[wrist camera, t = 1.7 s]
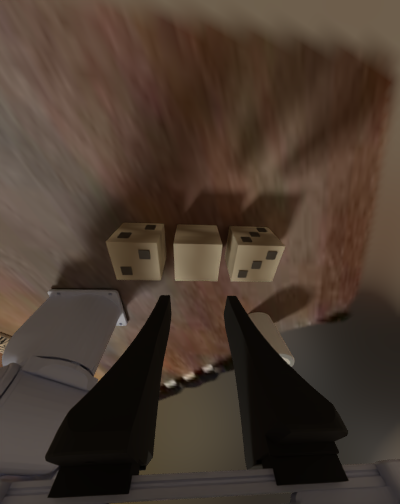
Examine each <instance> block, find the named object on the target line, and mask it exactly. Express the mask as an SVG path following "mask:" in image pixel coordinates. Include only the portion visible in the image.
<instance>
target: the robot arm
mask: <svg viewBox="0 0 400 504" xmlns="http://www.w3.org/2000/svg"><path fill="white" fill-rule="evenodd" d="M48 294H49V296H50V297H49V298H48V299H47V300H46V301H45V302H44V303H43V304H42V305H41V306H40V307H39V308H38V309H37V311H36V312H35V313H34V314H33V315H32V316H31V317H30V318H29V319H28V320H27V321H26V322H25V323H24V324H23V325H22V326H21V327H20V328H19V329H18V330H17V331H16V332H15V333H14V335H13V336H12V337H11V339H10V340H9V342H8V344H7V345H6V348H5V350H4V352H3V356H2V364H3V367H1V368H0V504H108V503H123V502H138V501H157V500H173V499H191V498H208V497H224V496H241V495H259V494H275V493H292V494H291V500H290V503H286V504H400V459H392V460H383V461H378V462H375V463H373V464H353V465H341V463H340V461H339V458H338V456H337V454H338V453H339V451H338V449H337V447H336V444H335V442H334V441H336V440H338V439H341V438H343V437H345V436H347V434H348V430H347V428H346V426H345V425H344V423H343V421H342V419H341V417H340V415H339V414H338V412H337V411H336V409H335V407H334V406H333V404H332V403H330V402H329V401H328V400H327V399H326V398H324V397H323V396H322V395H321V394H320V393H319V392H318V391H316V390H315V389H314V388H313V387H312V386H311V385H309V384H308V383H307V382H306V381H305V380H304V379H303V378H302V377H301V376H300V375H299V374H298V373H297V372H296V371H295V370H294V369H293V368H292V367H291V366H290V365H289V364H288V363H287V362H286V361H285V360H284V359H283V358H282V357H281V356H280V355H279V354H278V353H277V352H276V351H275V349H274V348H273V347H272V346H271V345H270V344H269V342H268V341H267V340H266V339H265V338H264V336H263V335H262V334H261V332H260V331H259V330H258V329H257V327H256V326H255V324H254V323H253V322H252V320H251V319H250V317H249V316H248V314H247V313H246V311H245V310H244V308H243V307H242V305H241V303H240V302H239V300H238V298H237V297H236V296H227V300H226V306H225V311H224V320H225V328H226V333H227V337H228V342H229V346H230V350H231V355H232V359H233V364H234V369H235V376H236V383H237V390H238V398H239V407H240V415H241V424H242V433H243V443H244V454H245V461H246V467H247V470H233V471H212V472H192V473H173V474H152V475H139V470H145V469H146V466H147V465H148V463H149V462H150V461H151V459H152V458H153V449H154V439H155V428H156V418H157V409H158V400H159V391H160V382H161V374H162V366H163V361H164V356H165V351H166V346H167V341H168V336H169V331H170V323H171V302H170V295H161V296H160V297H159V300H158V302H157V304H156V306H155V308H154V309H153V311H152V313H151V315H150V316H149V318H148V320H147V321H146V323H145V325H144V326H143V328H142V329H141V331H140V332H139V333H138V335H137V336H136V338H135V339H134V341H133V342H132V343H131V345H130V346H129V347H128V348H127V350H126V351H125V352H124V353H123V355H122V356H121V357H120V358H119V359H118V361H117V362H116V363H115V364H114V365H113V366H112V368H111V369H110V370H109V371H108V372H107V373H106V374H105V375H104V376H103V377H102V378H101V379H100V381H99V382H98V379H96V378H94V377H93V376H94V374H95V372H96V370H97V367H98V365H99V363H100V360H101V358H102V356H103V353H104V351H105V349H106V347H107V344H108V342H109V340H110V337H111V335H112V333H113V331H114V328H115V326H125V325H127V323H128V322H127V318H126V315H125V312H124V309H123V306H122V302H121V299H120V296H119V293H118V291H116V290H70V289H51V290H49V291H48ZM97 382H98V383H97Z"/></svg>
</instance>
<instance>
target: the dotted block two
mask: <svg viewBox="0 0 400 504" xmlns="http://www.w3.org/2000/svg"><path fill="white" fill-rule="evenodd" d="M106 245H107V248H108V252H109V255H110V258H111V262H112V265H113V268H114V272H115V275H116V278H117V280H161V277H162V273H163V269H164V265H165V261H166V257H167V256H166V242H165V229H164V224H154V223H123V224H122V225H121V226H120V227H119V228H118V229H117V230H116V231H115V232H114V233H113V234H112V235H111V236H110V238H109V239H108V240H107V241H106Z"/></svg>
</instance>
